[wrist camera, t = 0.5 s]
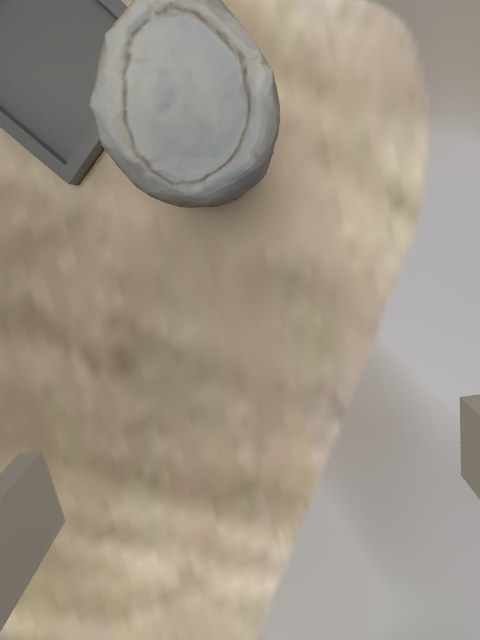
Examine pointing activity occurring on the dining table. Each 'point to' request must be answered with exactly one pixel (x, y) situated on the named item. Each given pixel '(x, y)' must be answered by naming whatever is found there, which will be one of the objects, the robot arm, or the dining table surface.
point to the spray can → (185, 102)
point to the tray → (53, 78)
